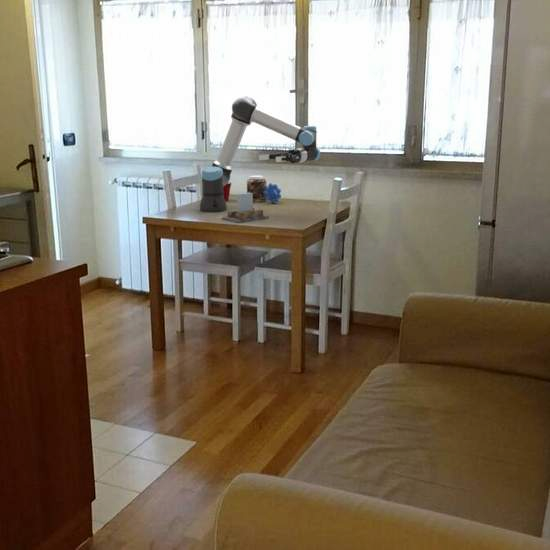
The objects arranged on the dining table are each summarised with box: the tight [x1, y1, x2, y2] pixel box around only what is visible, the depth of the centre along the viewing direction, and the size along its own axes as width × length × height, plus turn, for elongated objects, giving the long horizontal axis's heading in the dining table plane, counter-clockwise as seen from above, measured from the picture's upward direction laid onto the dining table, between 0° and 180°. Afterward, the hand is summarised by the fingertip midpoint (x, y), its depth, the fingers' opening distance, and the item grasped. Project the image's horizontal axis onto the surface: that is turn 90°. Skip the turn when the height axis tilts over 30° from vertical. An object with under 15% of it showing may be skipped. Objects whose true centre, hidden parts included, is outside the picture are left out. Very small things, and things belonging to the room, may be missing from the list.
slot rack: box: [221, 207, 269, 224], centre depth 374 cm, size 20×14×4 cm
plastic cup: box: [223, 180, 233, 202], centre depth 431 cm, size 11×11×12 cm
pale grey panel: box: [237, 192, 254, 213], centre depth 373 cm, size 8×2×12 cm, turn 132°
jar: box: [246, 174, 267, 203], centre depth 427 cm, size 12×12×15 cm
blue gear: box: [264, 182, 282, 204], centre depth 419 cm, size 12×7×12 cm, turn 120°
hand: (267, 158), depth 378 cm, fingers open, 13 cm apart
